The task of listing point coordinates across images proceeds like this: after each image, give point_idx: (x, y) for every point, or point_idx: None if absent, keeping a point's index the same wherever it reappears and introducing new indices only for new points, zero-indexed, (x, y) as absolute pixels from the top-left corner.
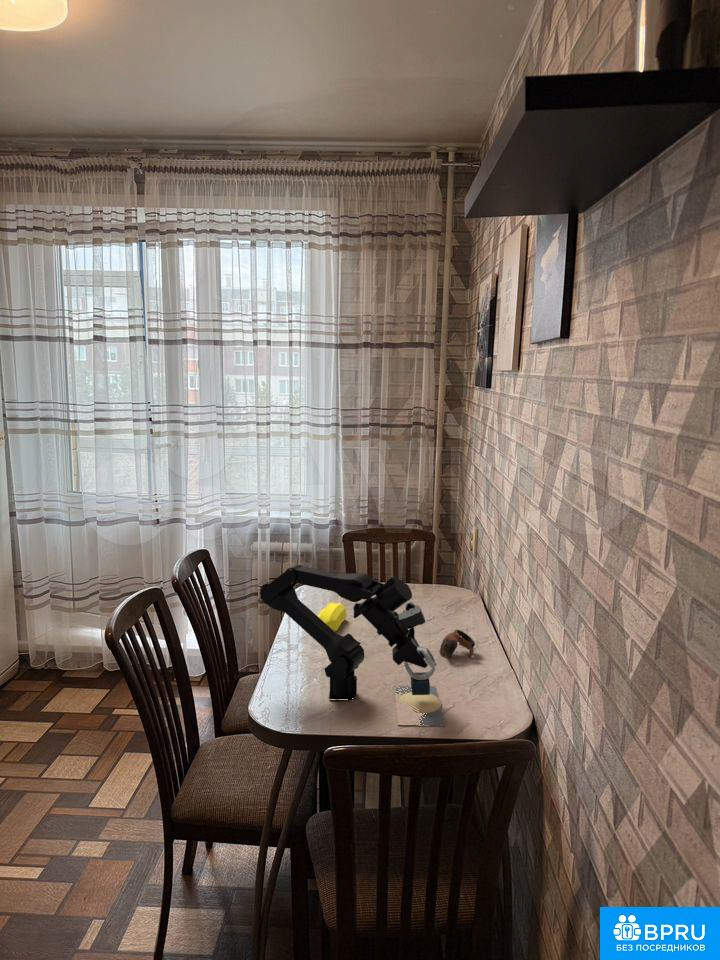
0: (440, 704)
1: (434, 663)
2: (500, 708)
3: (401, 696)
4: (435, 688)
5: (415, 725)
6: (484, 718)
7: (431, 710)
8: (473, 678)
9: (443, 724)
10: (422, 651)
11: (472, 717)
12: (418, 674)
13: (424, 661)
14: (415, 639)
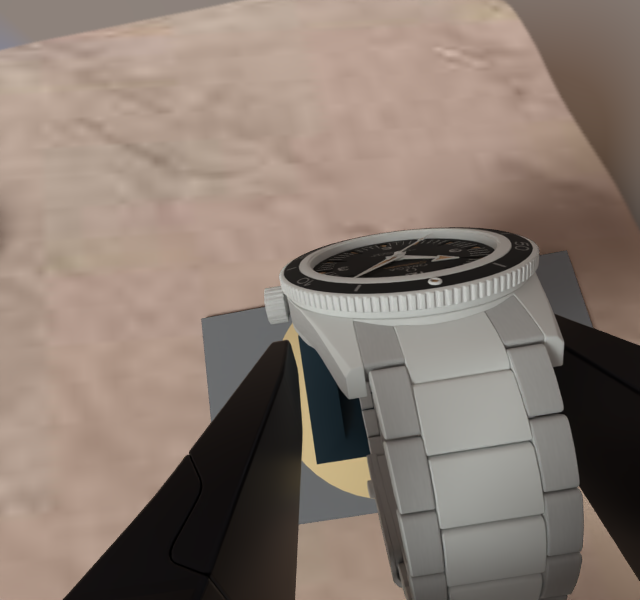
0: None
1: (476, 228)
2: (346, 62)
3: (339, 480)
4: (223, 316)
5: None
6: (443, 110)
7: None
8: (104, 168)
9: (561, 257)
10: (545, 357)
11: (447, 152)
12: (337, 400)
13: (582, 326)
14: (131, 551)
